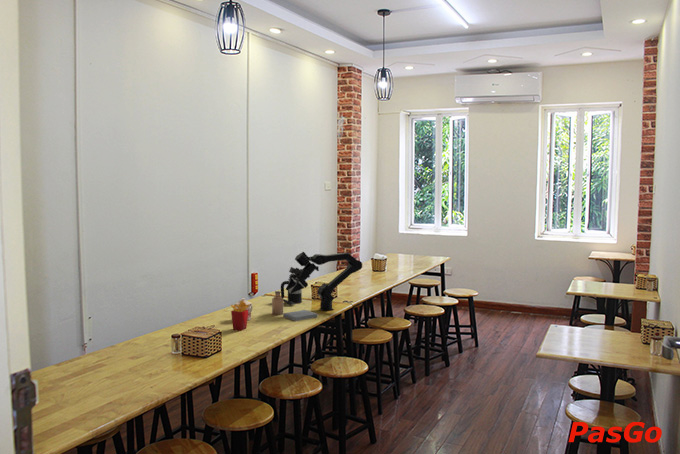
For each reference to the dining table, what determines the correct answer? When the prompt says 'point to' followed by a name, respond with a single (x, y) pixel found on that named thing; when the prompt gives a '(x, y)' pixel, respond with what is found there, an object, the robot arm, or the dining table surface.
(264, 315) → the dining table surface
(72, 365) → the dining table surface
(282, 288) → the milk frother
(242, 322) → the french fries
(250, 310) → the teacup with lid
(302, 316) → the serving board
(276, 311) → the sauce bottle
